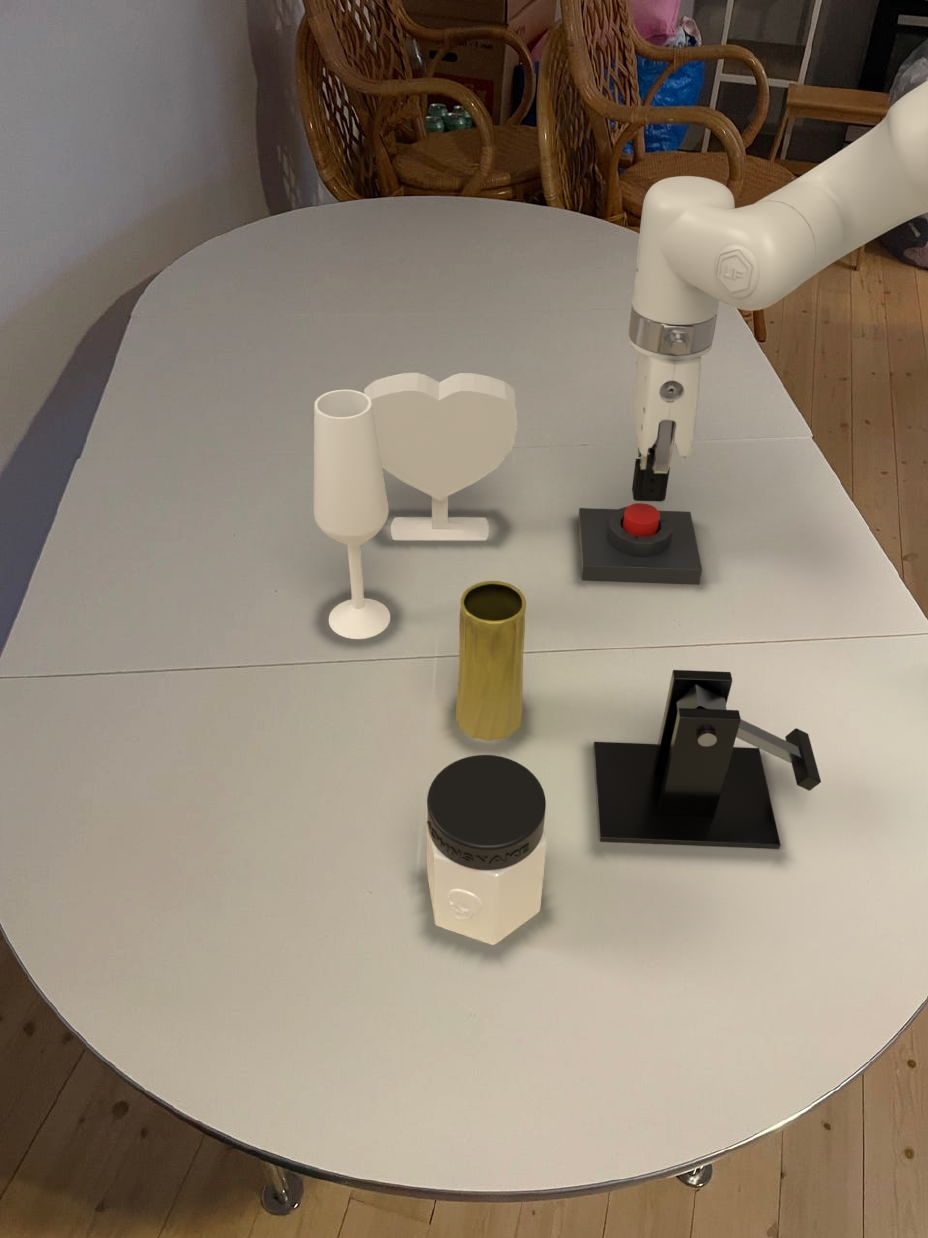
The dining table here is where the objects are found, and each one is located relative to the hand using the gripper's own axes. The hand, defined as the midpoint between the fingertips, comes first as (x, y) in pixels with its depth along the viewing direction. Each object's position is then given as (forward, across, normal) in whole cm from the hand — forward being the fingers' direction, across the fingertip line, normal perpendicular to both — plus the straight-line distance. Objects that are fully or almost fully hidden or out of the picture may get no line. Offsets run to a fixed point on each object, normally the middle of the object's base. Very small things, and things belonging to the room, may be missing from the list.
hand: (648, 496), depth 105 cm
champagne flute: (+8, -12, +28) cm, 32 cm away
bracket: (+8, -33, -1) cm, 34 cm away
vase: (+8, -25, +15) cm, 30 cm away
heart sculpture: (+8, +3, +21) cm, 23 cm away
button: (+4, 0, 0) cm, 4 cm away
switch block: (+8, 0, 0) cm, 8 cm away
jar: (+8, -43, +15) cm, 46 cm away
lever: (0, -33, -4) cm, 33 cm away
